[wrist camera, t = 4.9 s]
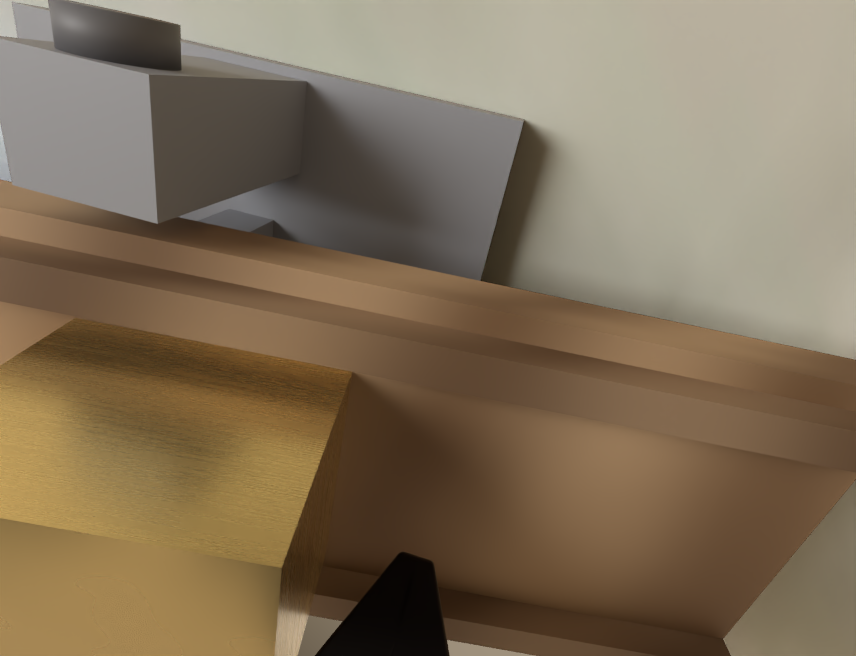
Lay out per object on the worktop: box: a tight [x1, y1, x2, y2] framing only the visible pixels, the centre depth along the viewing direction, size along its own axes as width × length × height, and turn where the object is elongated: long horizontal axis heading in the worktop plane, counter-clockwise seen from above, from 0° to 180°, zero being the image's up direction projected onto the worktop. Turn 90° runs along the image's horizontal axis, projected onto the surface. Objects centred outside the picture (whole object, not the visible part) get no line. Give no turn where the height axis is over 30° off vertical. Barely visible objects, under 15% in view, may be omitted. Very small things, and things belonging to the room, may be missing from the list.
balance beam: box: [0, 180, 856, 656], centre depth 10 cm, size 28×9×2 cm, turn 78°
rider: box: [0, 318, 352, 656], centre depth 8 cm, size 5×5×4 cm
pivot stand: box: [0, 0, 524, 281], centre depth 12 cm, size 12×15×6 cm
